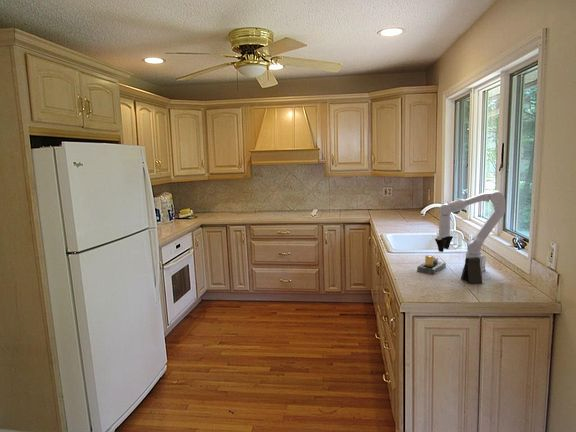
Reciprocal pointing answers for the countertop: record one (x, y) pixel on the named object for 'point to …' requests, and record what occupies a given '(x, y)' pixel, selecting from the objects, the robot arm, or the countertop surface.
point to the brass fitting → (429, 261)
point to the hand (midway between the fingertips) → (443, 250)
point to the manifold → (436, 267)
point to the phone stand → (472, 271)
